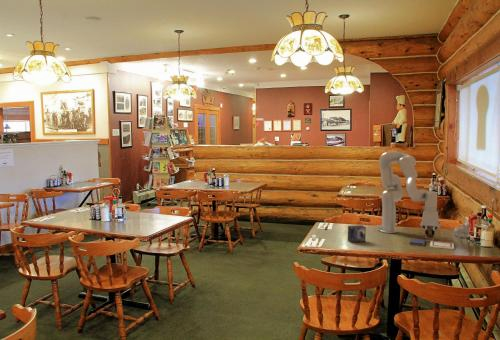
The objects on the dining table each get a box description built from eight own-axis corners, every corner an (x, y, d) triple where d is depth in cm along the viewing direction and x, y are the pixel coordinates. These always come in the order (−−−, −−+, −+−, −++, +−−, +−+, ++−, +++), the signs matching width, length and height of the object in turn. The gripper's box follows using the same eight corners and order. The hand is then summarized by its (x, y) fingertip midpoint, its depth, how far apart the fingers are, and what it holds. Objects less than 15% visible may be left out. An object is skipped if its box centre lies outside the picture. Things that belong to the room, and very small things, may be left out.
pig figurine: (474, 237, 297) (474, 222, 296) (457, 238, 296) (457, 223, 295) (469, 235, 302) (470, 221, 301) (452, 236, 301) (453, 221, 300)
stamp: (424, 240, 290) (425, 223, 289) (425, 238, 295) (425, 222, 294) (434, 241, 287) (434, 224, 286) (434, 239, 293) (435, 222, 292)
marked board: (429, 246, 274) (430, 245, 274) (430, 241, 286) (430, 240, 286) (453, 249, 268) (453, 247, 268) (453, 244, 280) (453, 242, 280)
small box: (351, 243, 284) (351, 227, 283) (347, 240, 290) (347, 225, 289) (365, 242, 286) (366, 227, 285) (361, 239, 292) (361, 225, 291)
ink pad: (409, 244, 280) (409, 242, 280) (411, 240, 291) (411, 238, 291) (424, 245, 276) (424, 243, 276) (425, 241, 287) (425, 239, 287)
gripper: (417, 209, 289) (416, 235, 291) (443, 211, 282) (442, 238, 284) (418, 207, 296) (417, 233, 298) (443, 209, 289) (442, 235, 291)
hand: (429, 235), depth 291 cm, fingers closed on stamp, 3 cm apart
